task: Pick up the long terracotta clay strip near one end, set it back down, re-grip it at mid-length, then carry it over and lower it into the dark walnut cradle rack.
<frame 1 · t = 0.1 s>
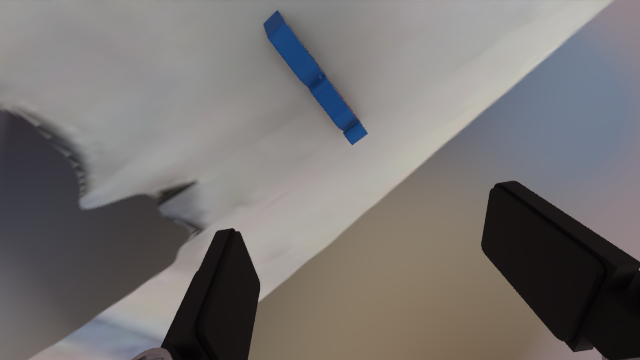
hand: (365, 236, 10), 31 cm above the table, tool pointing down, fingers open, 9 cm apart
logo: (317, 78, 37), on the table
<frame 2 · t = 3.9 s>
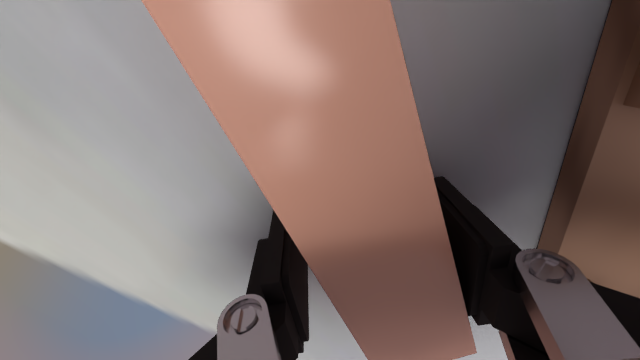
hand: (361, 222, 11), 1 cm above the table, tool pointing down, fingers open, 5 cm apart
clay strip: (331, 128, 10), on the table, touching gripper
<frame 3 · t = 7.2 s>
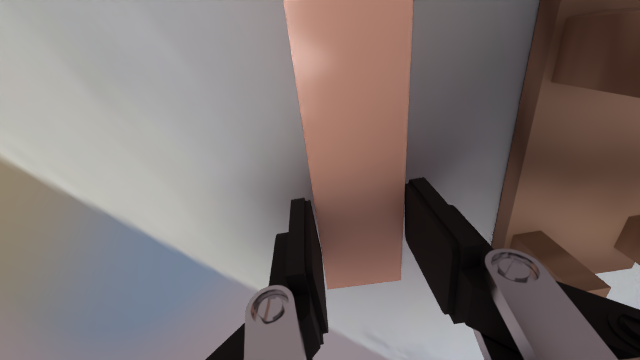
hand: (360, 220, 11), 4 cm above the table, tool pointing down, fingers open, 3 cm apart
clay strip: (339, 94, 13), on the table
rack: (592, 149, 14), on the table
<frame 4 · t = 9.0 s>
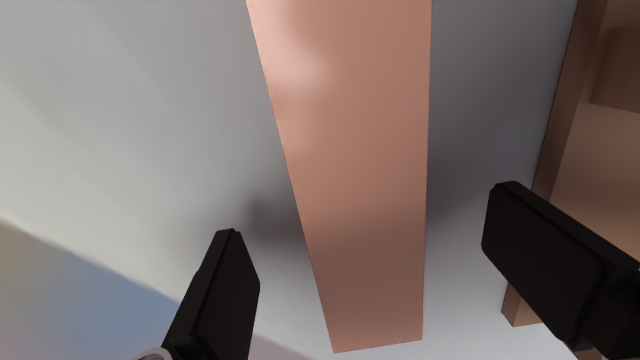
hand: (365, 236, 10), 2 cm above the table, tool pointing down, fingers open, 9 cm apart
clay strip: (337, 118, 11), on the table
rack: (627, 175, 12), on the table
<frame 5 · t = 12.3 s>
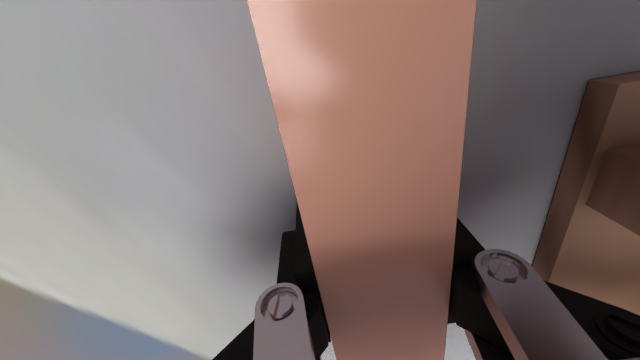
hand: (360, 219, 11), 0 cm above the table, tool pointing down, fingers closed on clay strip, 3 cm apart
clay strip: (358, 212, 11), on the table, touching gripper
rack: (622, 250, 13), on the table
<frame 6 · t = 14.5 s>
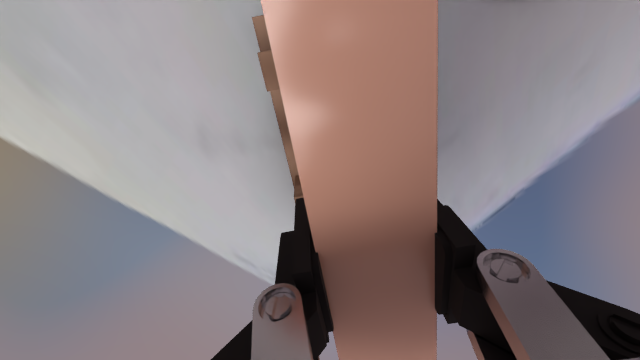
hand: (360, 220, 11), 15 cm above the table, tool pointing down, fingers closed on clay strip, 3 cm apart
clay strip: (355, 210, 12), point 14 cm above the table, tilted 5°, touching gripper
rack: (329, 122, 24), on the table
when the fingers open (3 cm above the table, at t = 17.0 s): clay strip stays where it is, resting on rack.
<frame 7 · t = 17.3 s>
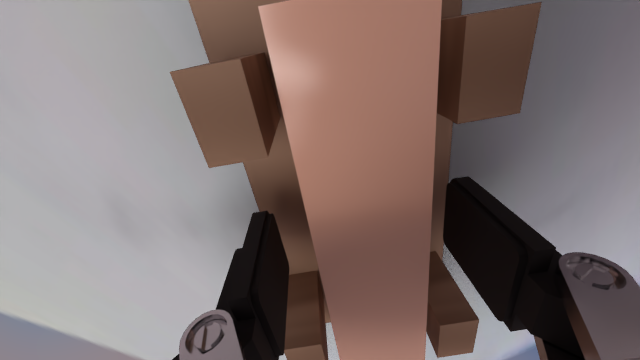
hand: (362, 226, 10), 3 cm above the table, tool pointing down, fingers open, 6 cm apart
clay strip: (353, 206, 13), point 1 cm above the table, touching rack
rack: (349, 187, 13), on the table
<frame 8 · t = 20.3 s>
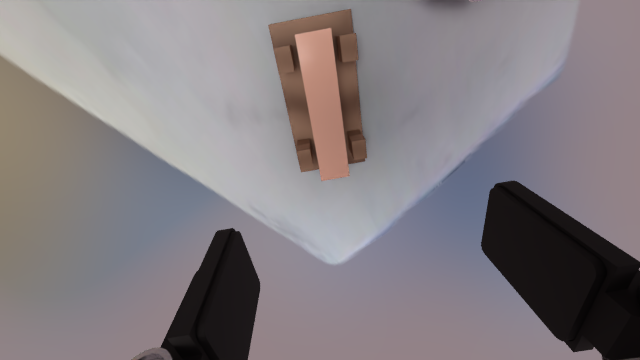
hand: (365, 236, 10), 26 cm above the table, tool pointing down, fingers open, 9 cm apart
clay strip: (323, 105, 32), point 1 cm above the table, touching rack
rack: (322, 100, 33), on the table
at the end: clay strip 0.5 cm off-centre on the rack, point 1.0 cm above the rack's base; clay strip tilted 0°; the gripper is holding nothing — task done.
